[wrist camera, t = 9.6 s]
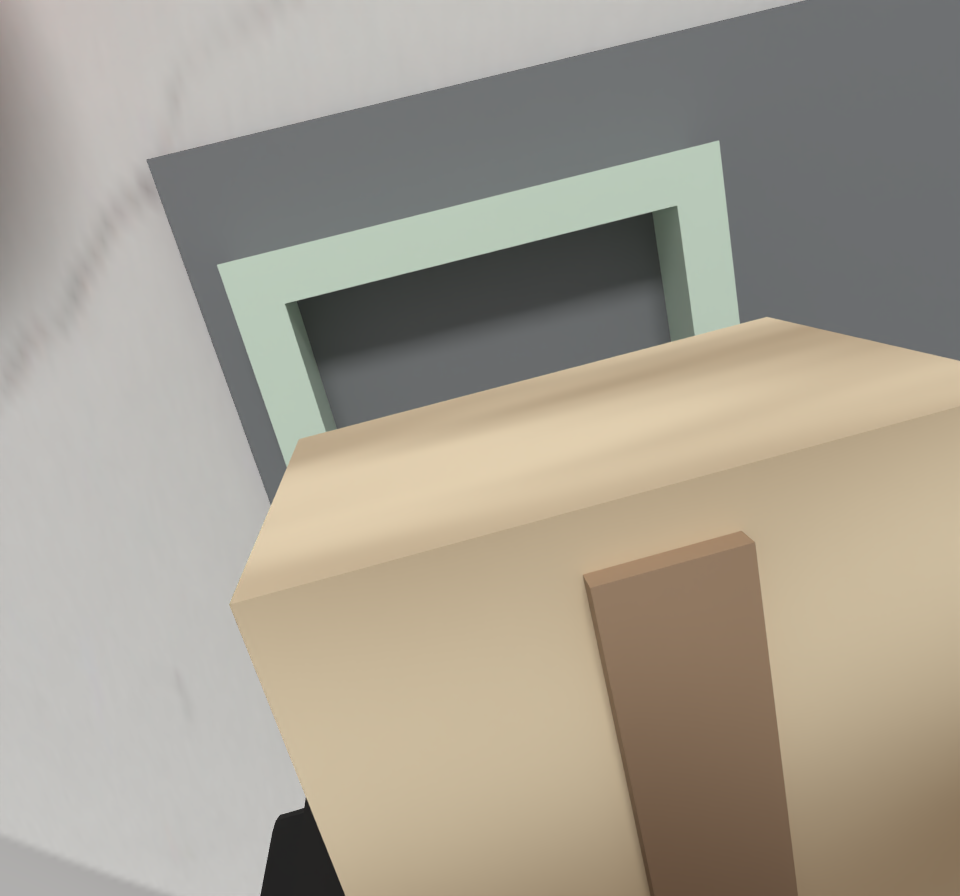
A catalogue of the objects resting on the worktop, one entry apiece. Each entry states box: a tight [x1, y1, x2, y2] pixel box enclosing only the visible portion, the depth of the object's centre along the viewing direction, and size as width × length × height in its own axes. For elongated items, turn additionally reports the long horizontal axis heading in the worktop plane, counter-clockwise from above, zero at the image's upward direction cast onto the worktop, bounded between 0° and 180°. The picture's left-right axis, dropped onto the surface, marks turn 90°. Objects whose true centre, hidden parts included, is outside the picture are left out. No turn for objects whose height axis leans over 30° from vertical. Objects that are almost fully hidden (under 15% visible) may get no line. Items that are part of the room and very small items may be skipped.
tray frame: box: [217, 140, 740, 466], centre depth 17 cm, size 10×14×2 cm
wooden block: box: [229, 317, 960, 896], centre depth 8 cm, size 10×6×4 cm, turn 13°
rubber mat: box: [147, 0, 960, 504], centre depth 18 cm, size 24×20×1 cm
